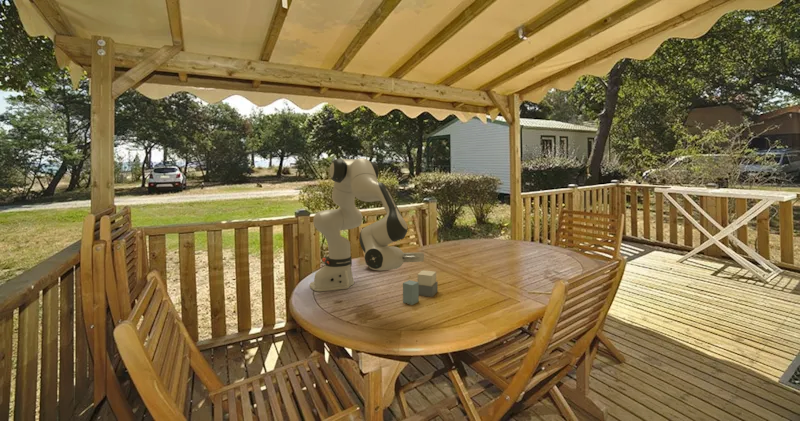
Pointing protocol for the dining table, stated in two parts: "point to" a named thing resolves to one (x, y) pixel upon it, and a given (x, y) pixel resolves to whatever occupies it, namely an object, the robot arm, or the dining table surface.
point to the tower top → (427, 278)
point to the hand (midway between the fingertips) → (405, 257)
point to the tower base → (428, 290)
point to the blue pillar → (410, 292)
